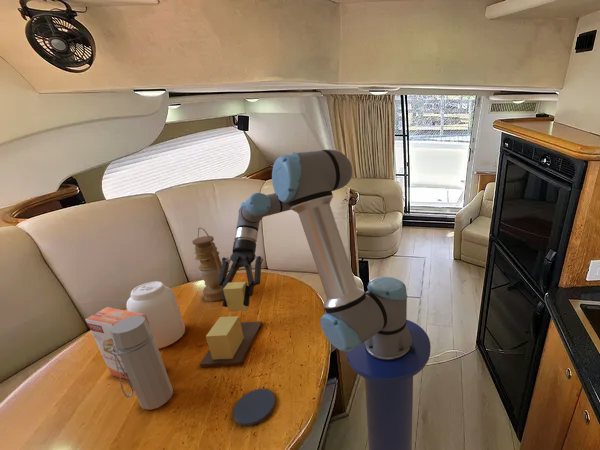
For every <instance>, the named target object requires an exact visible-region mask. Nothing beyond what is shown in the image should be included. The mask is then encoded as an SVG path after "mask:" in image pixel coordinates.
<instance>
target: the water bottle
mask: <svg viewBox="0 0 600 450" xmlns="http://www.w3.org/2000/svg"><path fill="white" fill-rule="evenodd" d="M110 332H111V336H112V340H113V343H114V346H113V347H112V348H110V351H111V352H112V353H113V355H114V356H116V355H117V354H119V356H120V358H121V361H122V363H123V365H124V368H125V370H126V372H127V375H128V377H129V379H130V380H128V378H127V376H126V374H125V372H124V370H123V368H122V366H121V364H120V362H119V360H118V358H117V356H116V357H115V361H116V358H117V360H118V363H119V365H120V367H121V369H122V371H123V373H124V375H125V377H126V379H125V380H126V382H127V384H128V386H129V388H130V390H131V393H129V394H128V393H127V392H126V391H125V390H124V387H123V383H122V378H120V374H119V370H118V365H117V361H116V365H117V370H118V374H119V377H118V379H119V383H120V387H121V392H122V393H123V395H124V397H126V398H127V399H128V398H131V397H133V394H135V396H136V398H137V400H138V403H139V405H140V407H141V408H142V409H143V410H151V411H152V410H155V409H158V408H161V407H162V406H163V405H166V403H168V402H169V400H170V399H171V398H172V396H173V393H174V388H173V386H172V384H171V379H170V378H169V375H168V373H167V368H166V366H164V365H165V363H164V360H163V358H161V357H162V355H161V352H160V349H159V350H158V347H157V344H156V342H155V339H154V336H153V333H152V330H151V329H150V327H149V325H148V324H147V322H146V320H145V318H144V317H143V316H133V317H128V318H126V319H123V320H121V321H119V322H117V323H116V324H114V325H113V326H112V328H111V329H110ZM114 347H116V349H117V351H118V353H116V351H115V349H114ZM159 352H160V353H159ZM162 360H163V361H162ZM163 363H164V364H163ZM165 368H166V369H165Z"/></svg>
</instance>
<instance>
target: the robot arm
mask: <svg viewBox="0 0 600 450" xmlns="http://www.w3.org/2000/svg"><path fill="white" fill-rule="evenodd" d="M352 176H353V166H352V163H351V161H350V159H349V158H348V157H347V156H346V155H345V154H344V153H343V152H341V151H340V150H337V149H330V148H329V149H328V148H326V149H320V150H319V149H318V150H310V151H309V150H308V151H301V152H292V153H288V154H283V155H279V157H278V158H277V159H275V161H274V162H273V166H272V171H271V181H272V187H273V191H274V192H273V193H268V194H266V193H262V192H254V193H252V194H250V196H249V197H248V198H247V199H246V201H244V202H241V203H240V206H239V209H238V214H237V215H238V216H237V222H236V228H235V234H234V238H233V240H234V241H233V246H232V253H231V255H230V256H228V257H222V258H221V262H222V268H221V272H220V276H219V279H218V285H220V286H223V289H224V287H225V286H226V285H227V284H228V283H231V282H233V280H234V278H235V276H236V274H237V272H238V270H240V268H244V269H245V272H246V273H245V274H246V278H247V286H246V288H245V295H244V302H243V305H245V306H249V299H250V300H251V297H252V296H253V295H254V289H255V286H260V284H261V277H262V275H261V274H262V264H263V261H264V258H263V257H262V256H260V255H256V251H257V242H258V235H259V229H260V222H261V220H263V218H264V217H268V216H273V215H276V214H281V213H285V212H288V211H292V212H295V213H296V214H297V215H298V218H299V221H300V223H301V225H302V229H303V232H304V235H305V237H306V238H305V239H306V241H307V244H308V247H309V250H310V253H311V255H312V258H313V261H314V264H315V266H316V270H317V273H318V276H319V279H320V282H321V285H322V288H323V291H324V294H325V296H326V299H325V301H324V303H323V309H324V312H325V313H324V314H323V315H322V316H321V317H320V328H321V330H322V332H323V334H324V336H325V338H326V339H327V340H328V342H329V343H330V344H331V346H333V347H334V348H335V349H337V350H339V351H341V352H344V353H346V352H349V351H351V350H353V349H354V348H356V347H358V346H361V345H362V343H364V342H365V349H366V351H367V353H368V354H369V355H370V356H371V357H372V358H374V359H376V360H379V361H385V362H390V361H396V360H399V359H401V358H403V357H405V356H406V355H407V354H408V353H409V352H410V350H412V351H415V348H413V347H412V337H411V334H410V331H409V329H408V326H407V324H406V320H408V318H407V317H408V316H407V312H408V308H407V307H408V294H407V293H408V292H407V286H406V284H405V282H403V281H401V280H400V279H398V278H395V277H392V276H391V277H390V276H378V277H374V278H372V279H371V280H369V282H368V283H367V286H366V287H367V291H365V290H364V289H363V288H361V287H359V286H358V285H357V282H356V278H355V275H354V273H353V270H352V267H351V264H350V260H349V258H348V255H347V252H346V249H345V246H344V243H343V240H342V237H341V234H340V231H339V229H338V228H339V227H338V225H337V222H336V219H335V215H334V213H333V209H332V207H331V202H332V200H333V198H334V194H333V192H334V191H337V190H339V189H342V188H344V187H346V186H347V185H348V184H349V183H350V181H351V180H352ZM231 262H232V263H231ZM253 262H254V274H253V265H252V263H253ZM230 264H231V266H230ZM229 268H230V269H229ZM222 296H223V297H224V299H222V307H224V308H228V307H227V303H226V299H225V295H224V291H223V290H222ZM249 307H250V306H249Z"/></svg>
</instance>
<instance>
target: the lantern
mask: <svg viewBox="0 0 600 450" xmlns="http://www.w3.org/2000/svg"><path fill="white" fill-rule="evenodd" d="M200 230H202V231H203V232H205V234H206V235H203V236H200ZM214 240H215V238H214V236H212V235H209V234H208V232H207V231H206V229H204V228H203V227H198V228H197V238H194V239H193V240H192V241H191V242H192V245H195V246H194V251H195V252H194V254H195V257H194V259H195V260H196V261H199V262H200V264H199V265H198V268H197V269H198V274H199V276H200V277H201V279H202V281H204V285H205V286H204V287H203V290H202V294H203V299H204V301H206V302H209V303H211V302H212V303H214V302H218V301H223V299H224V297H223V296H222V290H223V286H220V285H218V279H219V276H220V272H221V268H222V260H221V259H220V251H218V247H216V244H215V242H214Z"/></svg>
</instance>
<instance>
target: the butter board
mask: <svg viewBox="0 0 600 450" xmlns="http://www.w3.org/2000/svg"><path fill="white" fill-rule="evenodd" d="M240 323H241V327H242V332H243V336H244V339H243V341H242V343H241V344H240V346H239V348H238V350H237V352H236V353H235V355H234V357H233V359H215V360H212V356H211V353H210V349H209V350H208V351H207V352H206V354H205V356H204V357H203V359H202V360H201V362H200V363H199V366H200V368H208V367H227V366H241V365H243V363H244V361H245V359H246V357H247V354H248V353H249V351H250V349H251V347H252V345H253V343H254V341H255V338H256V337H257V335H258V334H259V331H260V329H261V328H262V325H263V322H262V321H244V322H243V321H242V322H241V321H240Z"/></svg>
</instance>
